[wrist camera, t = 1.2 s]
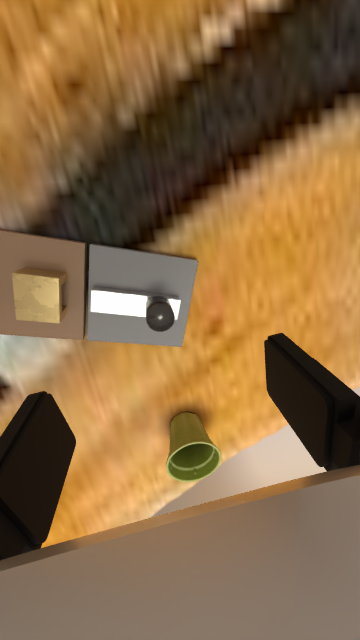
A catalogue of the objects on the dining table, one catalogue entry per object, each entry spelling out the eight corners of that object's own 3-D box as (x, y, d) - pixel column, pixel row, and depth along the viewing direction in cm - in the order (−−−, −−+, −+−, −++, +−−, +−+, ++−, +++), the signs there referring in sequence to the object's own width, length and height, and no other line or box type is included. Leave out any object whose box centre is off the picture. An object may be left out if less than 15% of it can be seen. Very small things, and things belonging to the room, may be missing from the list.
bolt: (175, 316, 36) (181, 333, 31) (93, 308, 34) (84, 325, 28) (178, 294, 35) (186, 307, 30) (94, 284, 32) (85, 297, 27)
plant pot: (153, 417, 46) (156, 459, 38) (197, 397, 45) (209, 434, 37) (173, 446, 49) (180, 489, 42) (213, 427, 49) (228, 467, 41)
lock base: (180, 342, 40) (181, 346, 39) (-24, 327, 34) (-31, 332, 32) (196, 259, 35) (198, 260, 34) (-41, 223, 29) (-50, 223, 27)
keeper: (67, 313, 34) (59, 323, 30) (28, 309, 32) (16, 319, 29) (66, 272, 31) (58, 278, 28) (25, 267, 30) (11, 272, 27)
